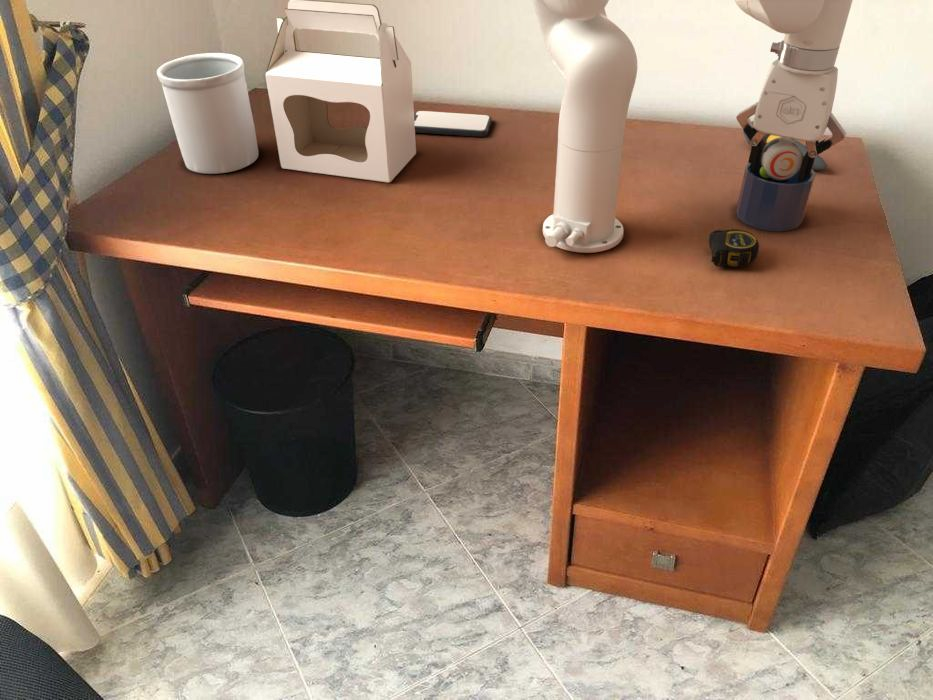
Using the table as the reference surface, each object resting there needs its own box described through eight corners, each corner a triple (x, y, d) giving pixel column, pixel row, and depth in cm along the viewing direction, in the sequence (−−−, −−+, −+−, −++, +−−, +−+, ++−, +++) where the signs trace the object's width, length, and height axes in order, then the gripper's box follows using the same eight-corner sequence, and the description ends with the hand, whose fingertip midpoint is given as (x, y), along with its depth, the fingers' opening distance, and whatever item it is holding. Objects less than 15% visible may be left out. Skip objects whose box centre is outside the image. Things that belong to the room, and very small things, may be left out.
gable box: (279, 168, 144) (251, 7, 127) (312, 141, 154) (290, -12, 136) (391, 183, 138) (378, 17, 121) (417, 154, 148) (409, -4, 131)
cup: (794, 237, 121) (807, 190, 116) (728, 222, 125) (738, 175, 120) (808, 210, 128) (821, 164, 123) (745, 196, 132) (755, 152, 127)
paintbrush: (836, 169, 140) (844, 142, 137) (820, 176, 138) (827, 150, 135) (744, 135, 153) (749, 110, 150) (728, 142, 150) (733, 117, 147)
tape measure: (706, 247, 119) (710, 225, 117) (752, 250, 118) (757, 228, 116) (709, 270, 114) (713, 248, 112) (757, 274, 113) (763, 251, 111)
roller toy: (753, 169, 124) (761, 134, 121) (793, 169, 124) (802, 134, 121) (760, 181, 121) (769, 146, 117) (801, 182, 121) (811, 146, 117)
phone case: (492, 122, 161) (416, 117, 163) (492, 114, 160) (416, 109, 162) (486, 139, 154) (407, 133, 156) (486, 131, 153) (406, 126, 155)
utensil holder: (165, 172, 143) (139, 76, 132) (205, 140, 155) (184, 49, 144) (238, 179, 140) (218, 82, 130) (273, 146, 152) (257, 54, 141)
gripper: (739, 53, 112) (715, 170, 123) (868, 73, 105) (831, 195, 116) (753, 40, 117) (729, 153, 128) (877, 58, 110) (840, 176, 121)
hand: (778, 172), depth 122 cm, fingers closed on roller toy, 6 cm apart
